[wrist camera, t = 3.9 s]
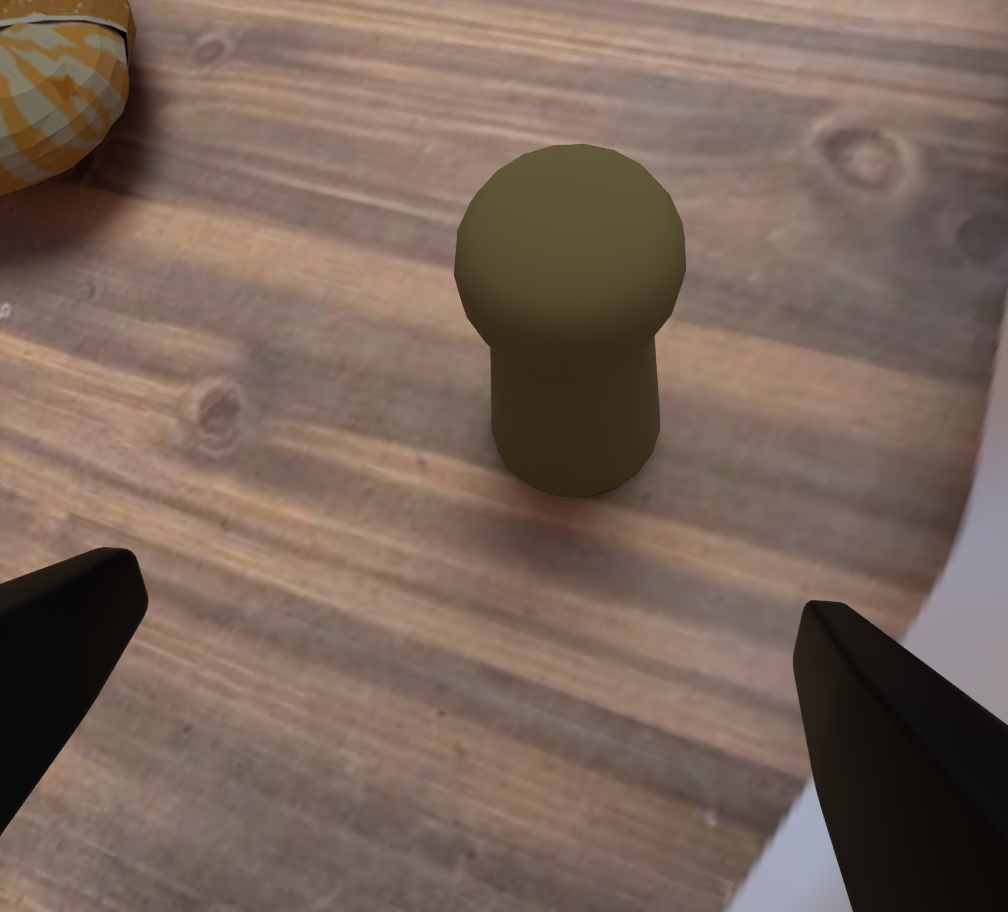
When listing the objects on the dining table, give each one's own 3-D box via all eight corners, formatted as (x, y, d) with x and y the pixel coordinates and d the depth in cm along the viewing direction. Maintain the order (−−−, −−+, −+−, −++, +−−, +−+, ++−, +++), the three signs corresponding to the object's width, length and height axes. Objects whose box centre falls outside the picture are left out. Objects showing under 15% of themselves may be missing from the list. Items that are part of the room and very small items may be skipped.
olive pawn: (484, 354, 25) (411, 123, 15) (644, 330, 25) (686, 74, 14) (500, 508, 23) (430, 366, 13) (675, 485, 23) (751, 318, 12)
